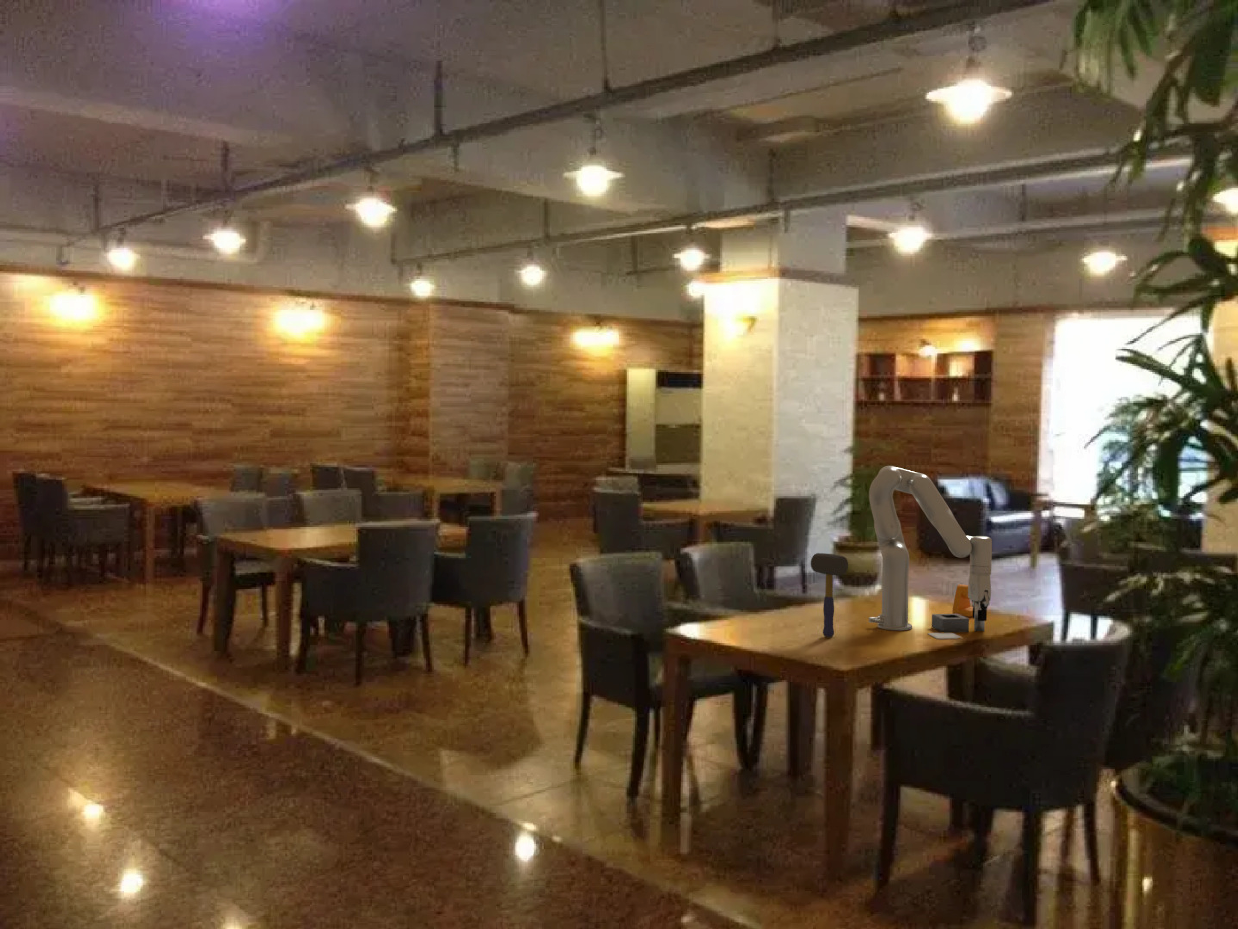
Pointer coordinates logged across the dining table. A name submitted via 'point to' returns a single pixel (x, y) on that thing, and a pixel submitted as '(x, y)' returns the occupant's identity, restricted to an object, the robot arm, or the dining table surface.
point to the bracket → (962, 602)
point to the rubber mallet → (829, 583)
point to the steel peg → (977, 624)
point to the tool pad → (944, 635)
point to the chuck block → (950, 623)
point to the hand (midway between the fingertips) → (979, 619)
